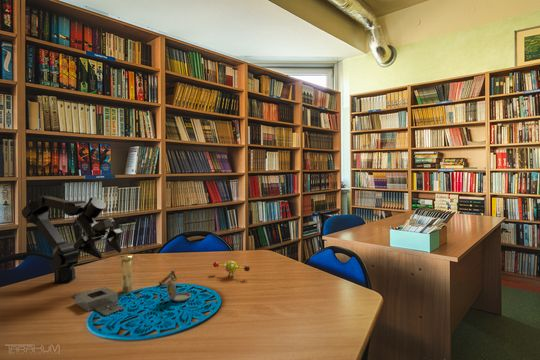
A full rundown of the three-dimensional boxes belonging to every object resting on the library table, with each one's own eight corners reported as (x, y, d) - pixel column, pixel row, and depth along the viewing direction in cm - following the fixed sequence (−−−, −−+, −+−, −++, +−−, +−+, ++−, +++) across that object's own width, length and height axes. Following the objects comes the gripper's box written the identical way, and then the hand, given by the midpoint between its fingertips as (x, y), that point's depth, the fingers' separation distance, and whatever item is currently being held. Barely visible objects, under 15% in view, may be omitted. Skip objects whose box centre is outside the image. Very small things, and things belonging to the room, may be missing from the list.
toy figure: (209, 275, 137) (209, 260, 137) (216, 271, 142) (216, 257, 142) (246, 280, 131) (246, 265, 130) (252, 276, 136) (252, 261, 135)
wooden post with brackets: (179, 277, 133) (175, 269, 131) (165, 290, 127) (160, 281, 125) (176, 276, 134) (173, 268, 132) (162, 289, 128) (158, 281, 126)
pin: (119, 293, 118) (118, 258, 118) (123, 288, 122) (122, 254, 122) (131, 292, 119) (130, 257, 118) (134, 288, 123) (134, 254, 123)
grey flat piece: (66, 298, 114) (66, 289, 114) (95, 289, 122) (95, 282, 122) (98, 318, 98) (98, 309, 98) (129, 307, 106) (129, 298, 106)
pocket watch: (194, 296, 115) (193, 269, 115) (180, 305, 107) (180, 277, 107) (175, 293, 118) (175, 267, 117) (160, 302, 110) (160, 274, 109)
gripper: (78, 215, 115) (101, 247, 112) (118, 209, 133) (139, 236, 129) (63, 235, 118) (86, 266, 115) (104, 226, 136) (125, 254, 132)
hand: (111, 255), depth 123 cm, fingers open, 9 cm apart
